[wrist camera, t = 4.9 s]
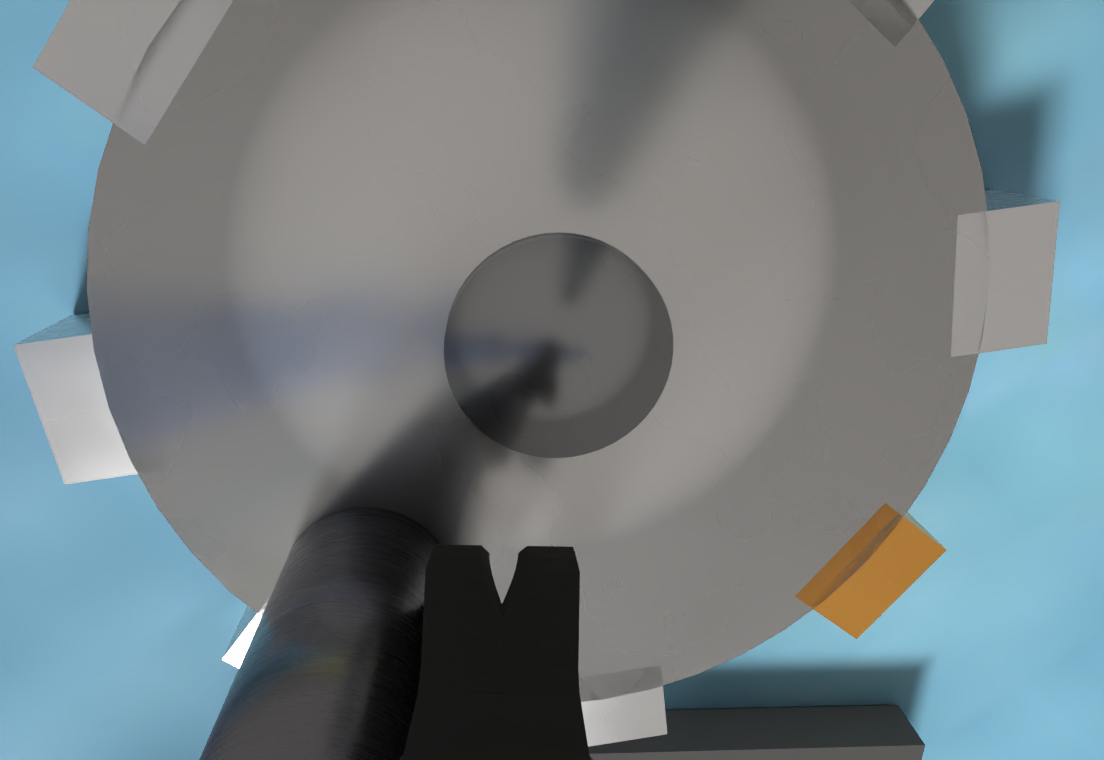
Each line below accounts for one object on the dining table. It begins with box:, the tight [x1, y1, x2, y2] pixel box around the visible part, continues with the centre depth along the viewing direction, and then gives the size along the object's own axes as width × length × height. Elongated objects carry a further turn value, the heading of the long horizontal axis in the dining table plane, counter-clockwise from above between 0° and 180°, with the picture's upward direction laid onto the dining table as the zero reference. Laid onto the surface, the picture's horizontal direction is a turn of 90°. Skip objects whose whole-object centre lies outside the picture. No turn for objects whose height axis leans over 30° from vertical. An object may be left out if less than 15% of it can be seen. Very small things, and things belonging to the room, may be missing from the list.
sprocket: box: [14, 0, 1060, 760], centre depth 9 cm, size 14×14×6 cm
